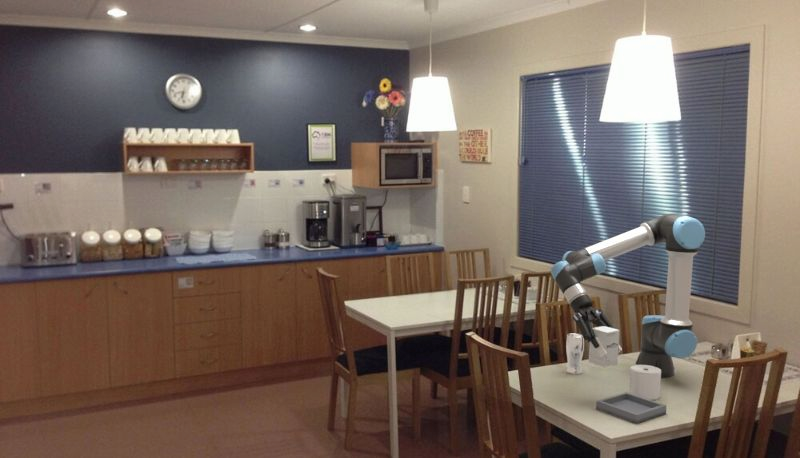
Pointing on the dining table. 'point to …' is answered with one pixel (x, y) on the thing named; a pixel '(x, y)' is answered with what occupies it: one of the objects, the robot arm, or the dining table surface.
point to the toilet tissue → (645, 381)
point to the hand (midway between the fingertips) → (611, 353)
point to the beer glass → (574, 353)
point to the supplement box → (605, 346)
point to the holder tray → (631, 407)
